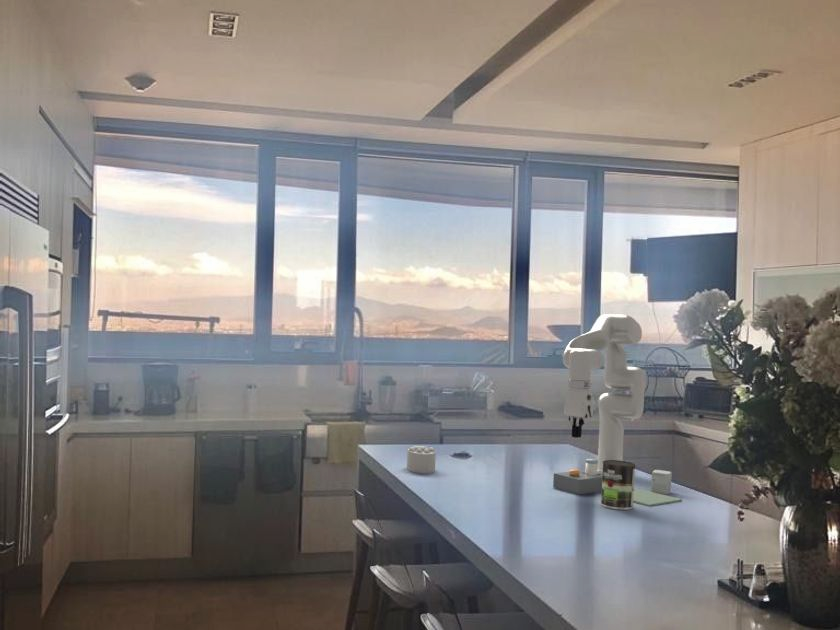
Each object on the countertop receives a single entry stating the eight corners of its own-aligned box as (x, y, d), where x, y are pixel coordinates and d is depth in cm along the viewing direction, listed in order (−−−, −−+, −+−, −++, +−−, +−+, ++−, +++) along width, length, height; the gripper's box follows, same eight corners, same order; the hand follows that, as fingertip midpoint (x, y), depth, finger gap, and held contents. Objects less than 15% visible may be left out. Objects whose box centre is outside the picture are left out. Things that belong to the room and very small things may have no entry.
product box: (650, 492, 293) (651, 471, 293) (653, 489, 299) (654, 469, 299) (668, 494, 290) (669, 474, 290) (671, 491, 296) (672, 471, 296)
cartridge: (590, 486, 299) (591, 458, 299) (599, 488, 295) (600, 460, 295) (581, 487, 296) (583, 459, 296) (591, 489, 293) (592, 461, 293)
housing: (587, 483, 303) (587, 469, 303) (613, 489, 294) (613, 475, 294) (553, 487, 293) (553, 473, 293) (578, 494, 283) (579, 479, 283)
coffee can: (623, 511, 260) (625, 466, 260) (594, 505, 267) (596, 461, 267) (639, 507, 268) (641, 463, 268) (610, 501, 275) (613, 458, 275)
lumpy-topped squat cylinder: (431, 467, 321) (432, 444, 321) (437, 473, 308) (439, 450, 308) (404, 466, 319) (406, 444, 319) (410, 473, 306) (411, 449, 306)
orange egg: (573, 485, 293) (574, 468, 293) (581, 487, 290) (581, 470, 290) (566, 486, 291) (567, 469, 291) (574, 488, 288) (574, 471, 288)
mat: (638, 490, 295) (638, 488, 295) (682, 501, 281) (682, 499, 281) (605, 495, 284) (605, 493, 284) (649, 506, 270) (649, 504, 270)
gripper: (602, 386, 287) (600, 439, 287) (570, 382, 298) (567, 433, 299) (588, 387, 282) (585, 441, 282) (555, 383, 294) (553, 434, 294)
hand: (576, 436), depth 290 cm, fingers closed
